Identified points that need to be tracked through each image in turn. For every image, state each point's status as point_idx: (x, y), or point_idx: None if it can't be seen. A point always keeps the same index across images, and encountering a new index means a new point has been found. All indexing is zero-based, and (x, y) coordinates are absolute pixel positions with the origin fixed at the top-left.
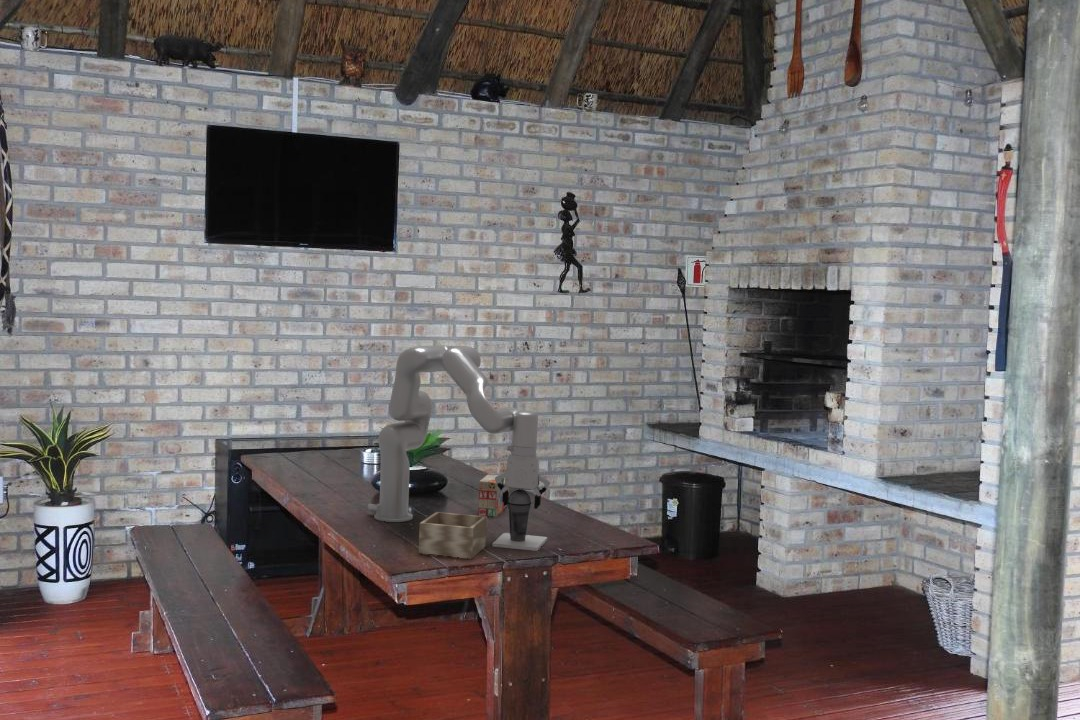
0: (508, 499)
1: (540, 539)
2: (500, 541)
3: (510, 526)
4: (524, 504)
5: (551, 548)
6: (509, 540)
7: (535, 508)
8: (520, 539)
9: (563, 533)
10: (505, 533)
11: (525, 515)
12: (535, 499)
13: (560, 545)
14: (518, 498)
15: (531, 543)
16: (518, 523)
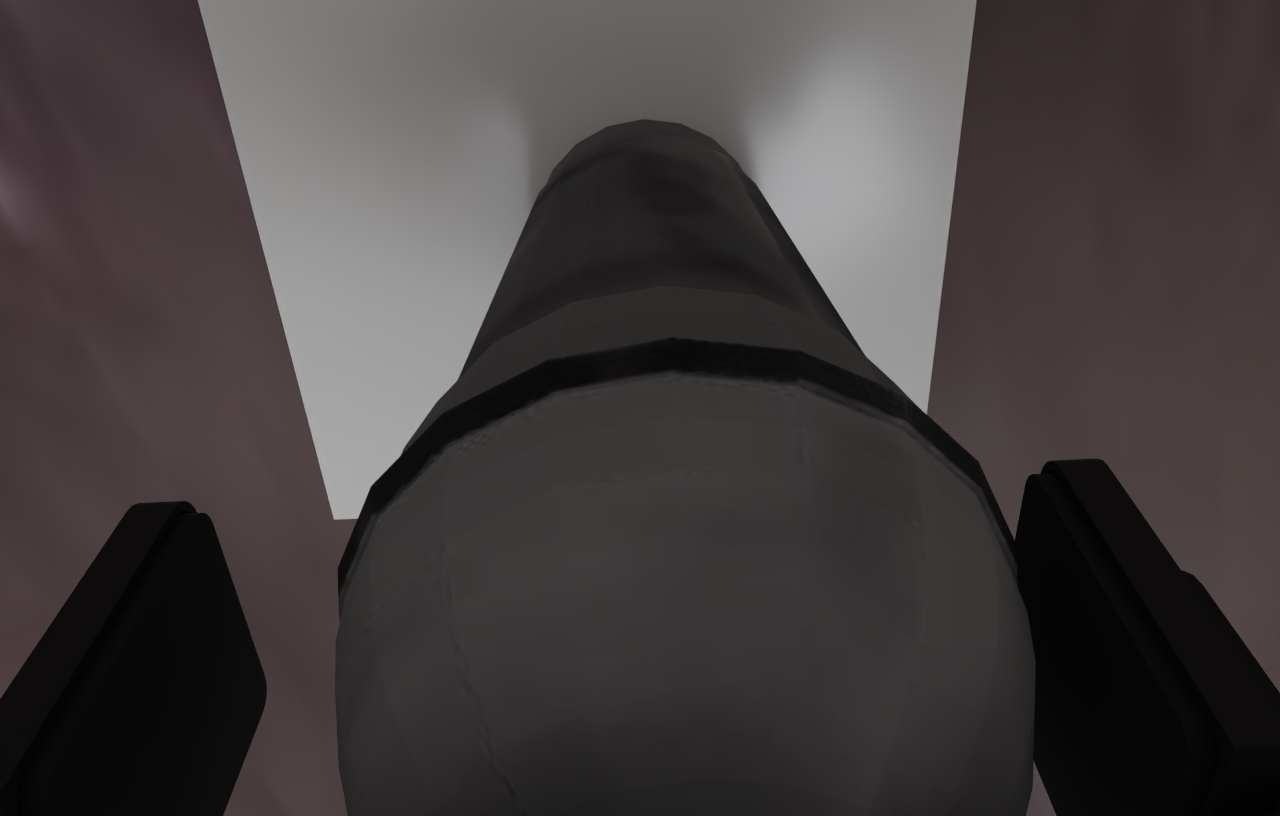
0: (1024, 612)
1: (359, 379)
2: (881, 7)
3: (782, 229)
4: (428, 459)
5: (85, 129)
6: (755, 135)
7: (166, 504)
8: (576, 154)
9: (315, 782)
10: None
11: (465, 362)
12: (52, 695)
13: (71, 337)
14: (632, 541)
15: (377, 102)
16: (606, 208)
